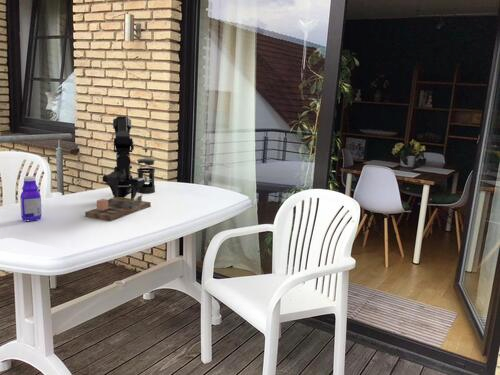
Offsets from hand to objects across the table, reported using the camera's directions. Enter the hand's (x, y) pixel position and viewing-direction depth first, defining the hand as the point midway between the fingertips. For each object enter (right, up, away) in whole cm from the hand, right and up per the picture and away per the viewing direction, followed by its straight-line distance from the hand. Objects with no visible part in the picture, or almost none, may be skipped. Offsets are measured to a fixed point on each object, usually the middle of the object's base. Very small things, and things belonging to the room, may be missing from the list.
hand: (123, 198), depth 201 cm
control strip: (-1, -5, -2) cm, 6 cm away
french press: (+1, +3, +38) cm, 39 cm away
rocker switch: (+3, +1, +6) cm, 7 cm away
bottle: (-31, -8, -20) cm, 38 cm away
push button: (0, -2, 0) cm, 3 cm away
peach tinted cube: (-7, -5, -9) cm, 12 cm away
